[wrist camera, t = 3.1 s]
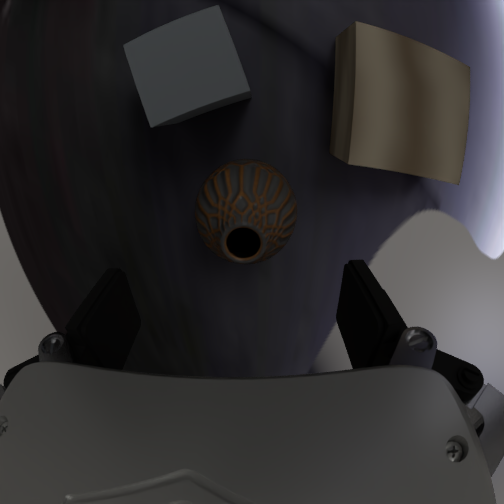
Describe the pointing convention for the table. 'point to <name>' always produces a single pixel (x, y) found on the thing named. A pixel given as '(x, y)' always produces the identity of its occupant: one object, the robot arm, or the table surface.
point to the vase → (246, 211)
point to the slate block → (187, 68)
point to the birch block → (399, 105)
